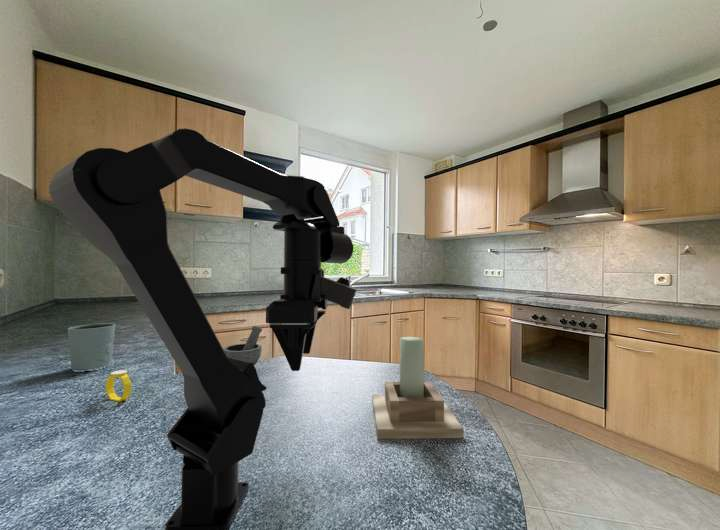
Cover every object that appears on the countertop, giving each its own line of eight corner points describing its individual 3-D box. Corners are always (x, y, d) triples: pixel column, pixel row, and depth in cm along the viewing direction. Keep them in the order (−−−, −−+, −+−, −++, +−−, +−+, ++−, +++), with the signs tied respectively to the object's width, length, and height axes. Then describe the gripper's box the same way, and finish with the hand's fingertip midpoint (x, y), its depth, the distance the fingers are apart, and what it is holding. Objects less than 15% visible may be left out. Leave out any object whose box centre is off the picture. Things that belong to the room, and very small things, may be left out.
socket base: (463, 438, 48) (463, 406, 48) (377, 438, 48) (377, 407, 48) (438, 401, 62) (438, 377, 62) (372, 402, 62) (372, 377, 62)
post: (417, 417, 52) (417, 342, 52) (395, 410, 55) (395, 339, 55) (427, 408, 55) (427, 338, 56) (406, 402, 58) (406, 335, 59)
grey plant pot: (119, 366, 86) (121, 324, 86) (72, 376, 77) (74, 330, 78) (106, 361, 91) (107, 322, 92) (60, 369, 83) (62, 326, 83)
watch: (134, 400, 63) (136, 372, 63) (119, 405, 61) (122, 376, 61) (115, 394, 65) (117, 367, 65) (100, 399, 63) (103, 371, 63)
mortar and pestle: (239, 381, 74) (240, 332, 74) (214, 375, 78) (215, 329, 79) (271, 368, 84) (272, 326, 84) (248, 364, 88) (249, 323, 89)
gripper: (353, 257, 38) (353, 382, 37) (353, 264, 56) (353, 346, 56) (265, 257, 37) (263, 382, 37) (294, 263, 56) (294, 347, 55)
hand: (301, 361), depth 46 cm, fingers open, 9 cm apart
